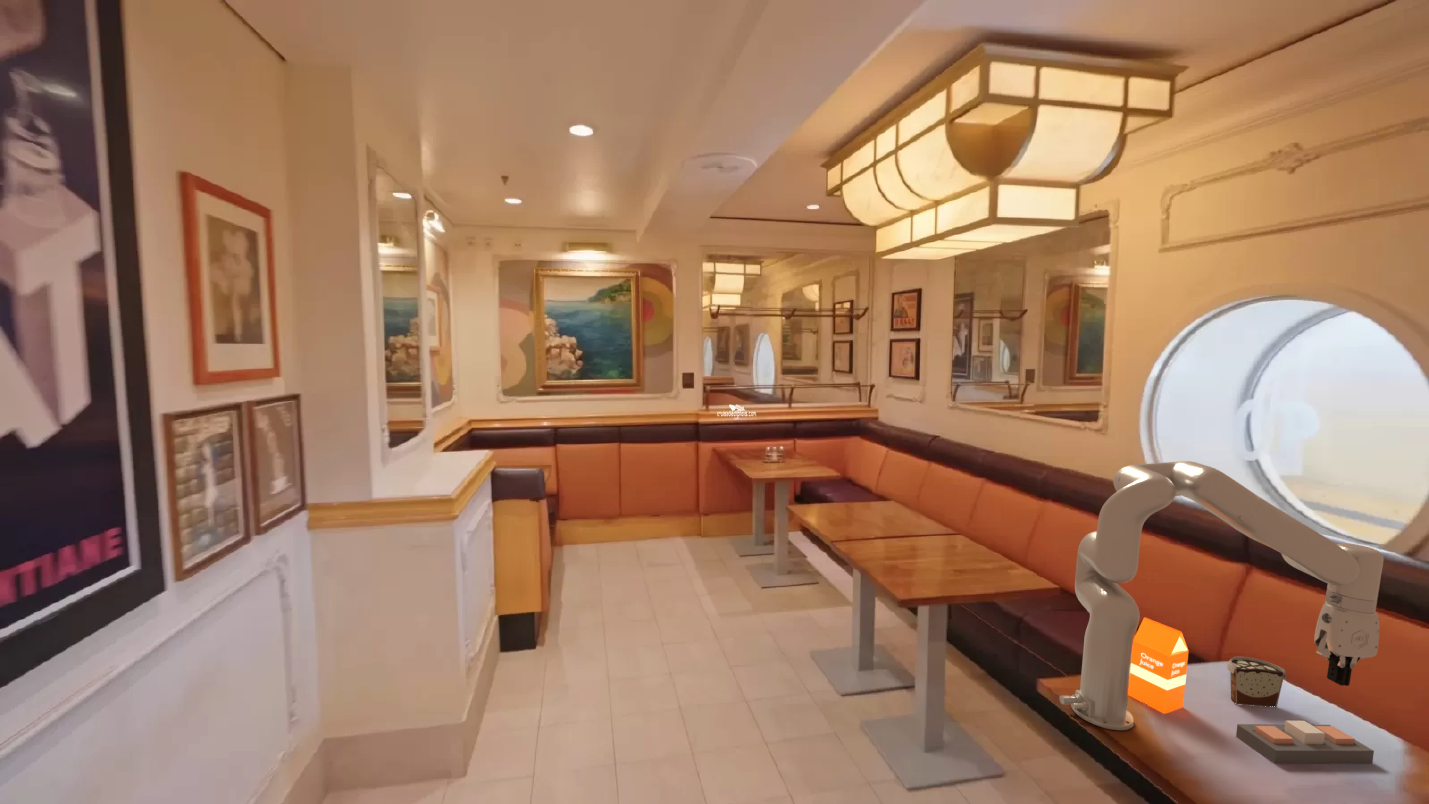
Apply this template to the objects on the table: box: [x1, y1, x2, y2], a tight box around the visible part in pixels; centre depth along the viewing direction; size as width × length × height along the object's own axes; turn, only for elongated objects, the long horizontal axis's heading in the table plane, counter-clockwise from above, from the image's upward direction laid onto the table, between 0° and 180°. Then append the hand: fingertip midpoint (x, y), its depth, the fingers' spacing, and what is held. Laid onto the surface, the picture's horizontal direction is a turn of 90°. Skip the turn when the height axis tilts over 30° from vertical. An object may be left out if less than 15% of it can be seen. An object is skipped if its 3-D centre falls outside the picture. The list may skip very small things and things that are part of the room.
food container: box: [1226, 656, 1287, 708], centre depth 152 cm, size 12×6×10 cm, turn 84°
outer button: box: [1315, 725, 1356, 745], centre depth 133 cm, size 4×4×4 cm
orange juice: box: [1128, 616, 1189, 715], centre depth 149 cm, size 8×9×20 cm
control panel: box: [1235, 723, 1375, 765], centre depth 133 cm, size 22×9×3 cm, turn 92°
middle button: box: [1284, 720, 1325, 745], centre depth 132 cm, size 4×4×4 cm
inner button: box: [1254, 726, 1293, 744], centre depth 132 cm, size 4×4×4 cm
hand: (1337, 682), depth 132 cm, fingers closed
